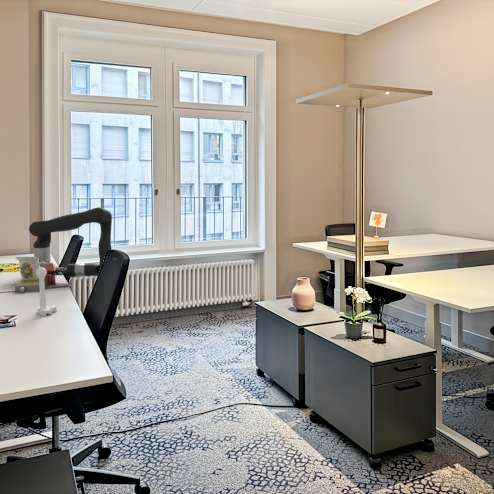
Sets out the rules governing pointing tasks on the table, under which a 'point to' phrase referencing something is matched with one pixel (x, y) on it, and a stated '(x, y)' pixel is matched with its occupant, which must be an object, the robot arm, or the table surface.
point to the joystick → (43, 294)
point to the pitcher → (29, 267)
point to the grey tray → (29, 285)
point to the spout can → (50, 278)
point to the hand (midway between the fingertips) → (44, 271)
